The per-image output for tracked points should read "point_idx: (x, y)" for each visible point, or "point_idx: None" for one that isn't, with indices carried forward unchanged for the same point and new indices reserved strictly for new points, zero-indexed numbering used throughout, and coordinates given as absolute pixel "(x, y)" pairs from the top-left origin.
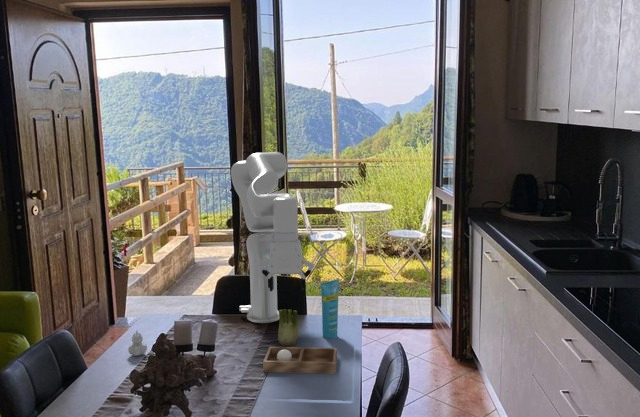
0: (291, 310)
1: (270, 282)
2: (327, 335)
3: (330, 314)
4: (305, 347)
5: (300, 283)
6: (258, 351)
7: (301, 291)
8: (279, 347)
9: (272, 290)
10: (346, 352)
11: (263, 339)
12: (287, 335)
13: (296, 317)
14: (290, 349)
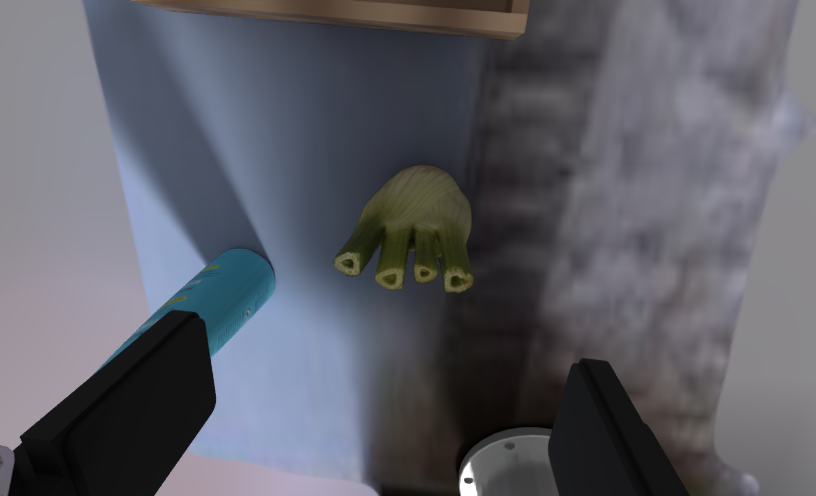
0: (376, 273)
1: (654, 464)
2: (243, 256)
3: (164, 309)
4: (307, 15)
5: (127, 389)
6: (569, 131)
7: (192, 312)
8: (461, 18)
9: (569, 377)
10: (146, 102)
11: (539, 271)
12: (419, 181)
13: (349, 239)
14: (395, 4)
